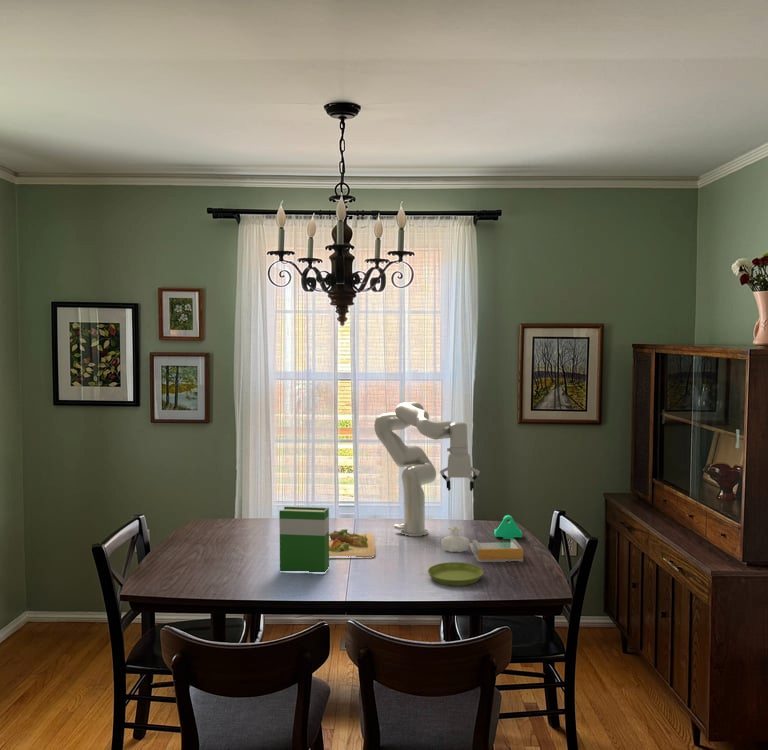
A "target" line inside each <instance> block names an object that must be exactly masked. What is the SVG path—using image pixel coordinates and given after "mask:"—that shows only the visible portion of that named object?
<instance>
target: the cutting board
mask: <svg viewBox="0 0 768 750" xmlns="http://www.w3.org/2000/svg"><path fill="white" fill-rule="evenodd" d="M348 530H349V529H347V528H346V529H345V528H343V529H340V531H339V530H338V531H337V530H334V531H333V532H329V536H330V538H331V540H329V556H348V557H349V556H356V557H372V556H374V555H377V554H376V545H375V536H373V534H374V533H369V532H367V533H365V532H364V533H361V532H359V533H358V532H356V534H355V532H353V533H351V532H350V533H349V532H348Z"/></svg>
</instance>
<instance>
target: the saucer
mask: <svg viewBox="0 0 768 750" xmlns="http://www.w3.org/2000/svg"><path fill="white" fill-rule="evenodd" d="M427 573H428V574H429V576H430V577H431V578H432V580H434V581H435V582H436V583H438V584H441V585H446V586H451V587H453V586H455V587H462V586H469V585H473V584H475V583H476V582H478V581H479V580H480V579H481V578H482V577H483V575H484V569H483V568H482V567H480V566H478V565H475V564H472V563H468V562H460V561H459V562H453V561H452V562H442V563H437V564H434V565H431V566H430V567H428V569H427Z"/></svg>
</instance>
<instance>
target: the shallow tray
mask: <svg viewBox="0 0 768 750" xmlns="http://www.w3.org/2000/svg"><path fill="white" fill-rule="evenodd" d="M469 548H470V549H471V551H472V553H473V555H474V556H475V558H476V560H477V562H478V563H504V562H505V563H506V561H509V562H508V563H510V561H519V562H524V549H523V547H522V546H521V545H520V544H519V542H518V541H517V540H516V538H514V539H510V542H509V541H508V542H507V541H505V542H504V541H503V542H479V541H478V540H477V539H472V542H469Z"/></svg>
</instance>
